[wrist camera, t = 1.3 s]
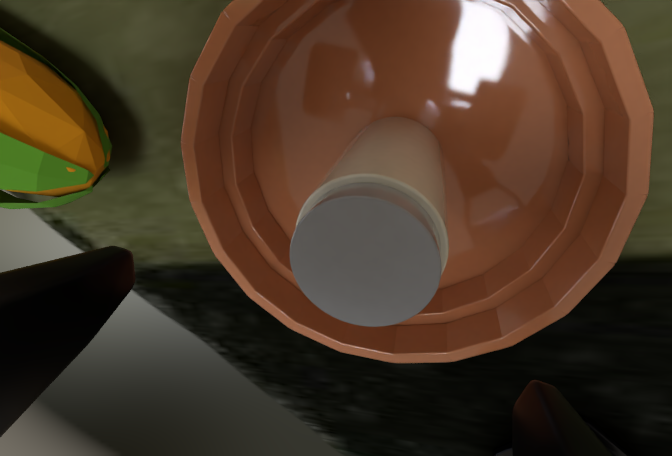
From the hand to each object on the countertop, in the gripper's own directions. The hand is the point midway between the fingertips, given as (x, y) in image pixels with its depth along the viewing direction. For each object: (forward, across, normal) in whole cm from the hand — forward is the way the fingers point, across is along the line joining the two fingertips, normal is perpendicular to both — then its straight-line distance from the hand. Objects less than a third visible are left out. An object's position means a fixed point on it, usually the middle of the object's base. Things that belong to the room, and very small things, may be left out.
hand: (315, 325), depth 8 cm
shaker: (+11, 0, 0) cm, 11 cm away
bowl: (+11, 0, 0) cm, 11 cm away
